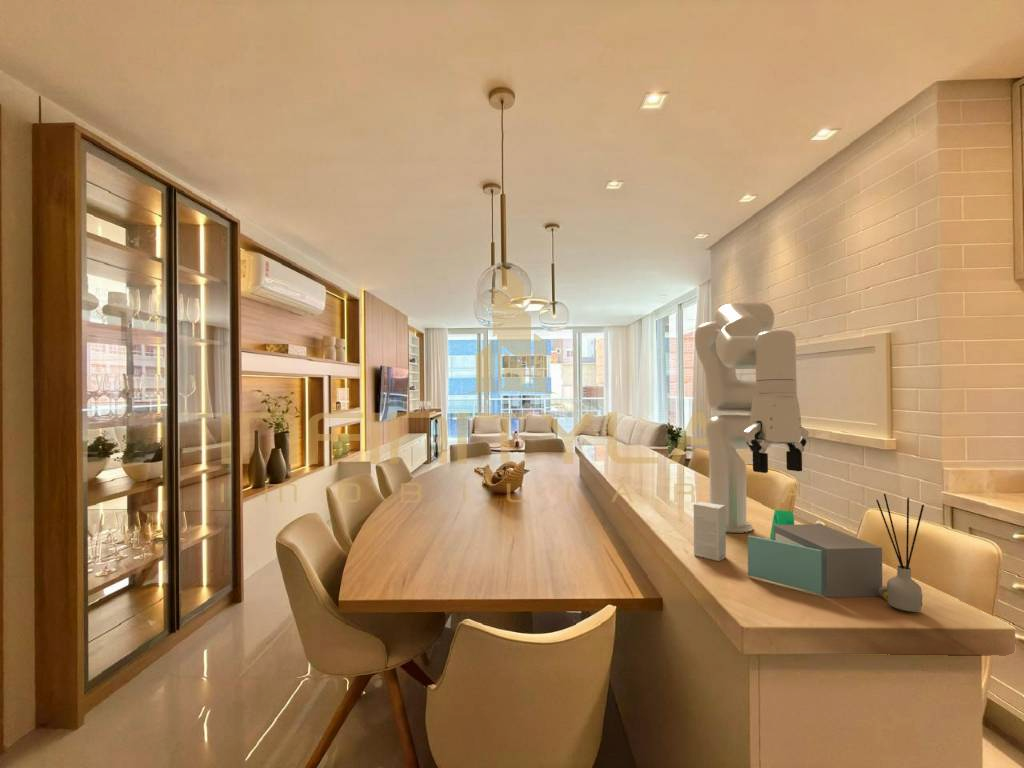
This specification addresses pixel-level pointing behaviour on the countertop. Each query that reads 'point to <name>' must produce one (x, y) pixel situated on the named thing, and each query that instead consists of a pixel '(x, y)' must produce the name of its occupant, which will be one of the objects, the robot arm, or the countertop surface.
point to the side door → (785, 563)
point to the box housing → (838, 559)
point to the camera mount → (781, 519)
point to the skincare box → (709, 531)
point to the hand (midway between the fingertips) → (777, 471)
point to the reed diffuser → (902, 574)
